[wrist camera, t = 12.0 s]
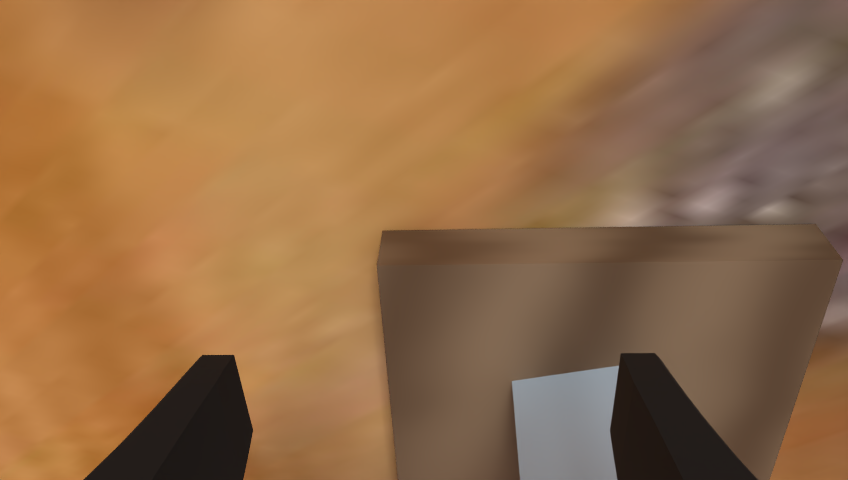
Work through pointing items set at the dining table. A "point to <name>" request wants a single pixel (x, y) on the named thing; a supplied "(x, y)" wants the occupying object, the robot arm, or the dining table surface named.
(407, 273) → the walnut board
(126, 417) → the dining table surface
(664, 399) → the robot arm
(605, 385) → the blue-grey block
